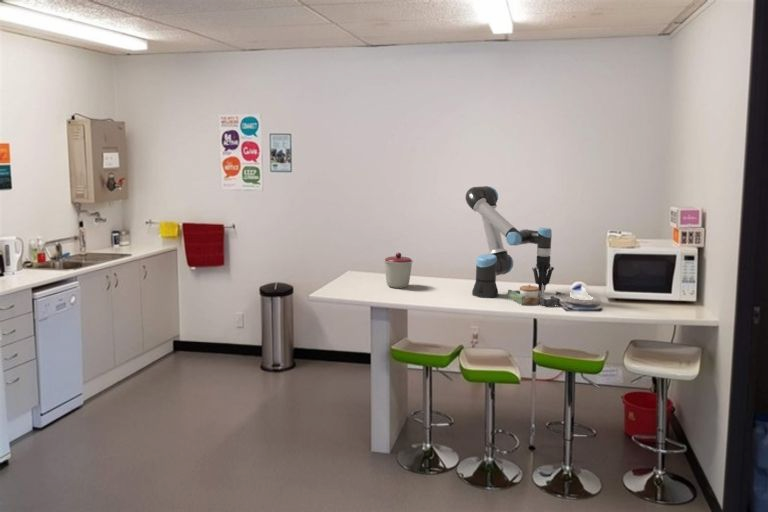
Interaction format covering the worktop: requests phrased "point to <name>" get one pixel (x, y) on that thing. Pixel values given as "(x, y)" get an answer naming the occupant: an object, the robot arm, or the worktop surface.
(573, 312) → the worktop surface
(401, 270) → the canister
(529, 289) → the lidded jar
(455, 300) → the worktop surface
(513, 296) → the trap box
